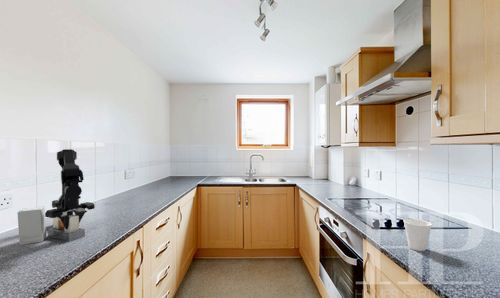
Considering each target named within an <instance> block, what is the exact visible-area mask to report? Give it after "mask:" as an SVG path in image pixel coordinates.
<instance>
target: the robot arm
mask: <svg viewBox="0 0 500 298" xmlns="http://www.w3.org/2000/svg"><path fill="white" fill-rule="evenodd" d="M77 158H78V156H77V151H76V150H74V149H71V148H70V149H67V148H65V149H62V150H60V151H57V152H56V161H58V164H59V166H60V167H61V170H60V182H61V195H60V196H59V197H58V199H55V200H52V201H51V208H52V209H46V212H45V218H50V219H53V218H57V217H59V218H60V219H61V221H62V223H63V225H64V227H65V229H66V230H67V229H68V225H69V216H70V215H78V216H79V224H80V222H81V220H82V218H83V217H84V215H85V214H86V213H87V212H88V211H89V210H95V205H96V204H95V203H94V202H90V201H89V202H88V201H86V202H80V199H81V194H82V187H81V186H80V185H79V184H80V183H83V181H84V180H85V179H84V173H83V171H82V169H80V166H79V164H76V160H77Z"/></svg>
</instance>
